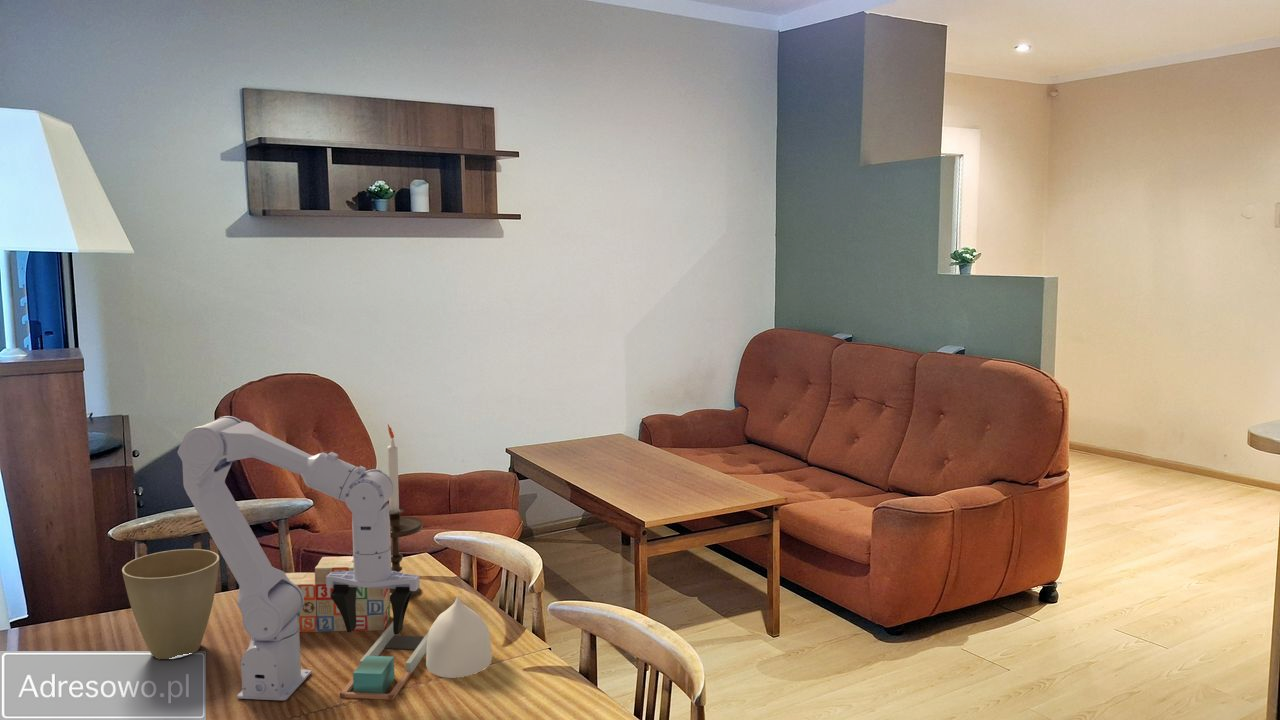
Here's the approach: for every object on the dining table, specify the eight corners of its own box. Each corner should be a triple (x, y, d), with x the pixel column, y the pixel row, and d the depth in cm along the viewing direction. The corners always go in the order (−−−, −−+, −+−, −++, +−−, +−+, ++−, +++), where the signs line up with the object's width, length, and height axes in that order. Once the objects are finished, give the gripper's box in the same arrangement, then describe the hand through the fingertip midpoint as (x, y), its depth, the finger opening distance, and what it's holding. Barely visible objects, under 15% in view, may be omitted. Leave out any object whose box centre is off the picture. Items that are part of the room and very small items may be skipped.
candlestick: (375, 607, 177) (370, 431, 173) (363, 588, 187) (357, 421, 182) (430, 597, 182) (426, 426, 178) (416, 579, 192) (411, 416, 187)
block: (381, 698, 142) (381, 673, 142) (353, 697, 143) (353, 672, 142) (394, 679, 148) (393, 656, 148) (367, 678, 149) (366, 655, 148)
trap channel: (393, 699, 141) (392, 687, 141) (339, 697, 142) (339, 685, 142) (439, 633, 166) (439, 622, 165) (393, 631, 166) (393, 621, 166)
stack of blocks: (265, 633, 165) (262, 569, 164) (276, 619, 171) (273, 557, 170) (384, 630, 167) (382, 566, 165) (391, 616, 173) (389, 554, 171)
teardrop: (414, 660, 155) (412, 593, 153) (471, 642, 162) (470, 578, 160) (445, 685, 146) (443, 614, 145) (504, 665, 154) (503, 597, 152)
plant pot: (212, 666, 152) (207, 574, 150) (115, 674, 149) (108, 581, 147) (232, 629, 167) (227, 545, 165) (143, 636, 164) (138, 550, 161)
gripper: (424, 541, 147) (426, 622, 148) (337, 539, 148) (340, 618, 149) (410, 556, 140) (412, 640, 141) (319, 553, 141) (322, 637, 142)
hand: (374, 630), depth 145 cm, fingers open, 7 cm apart
